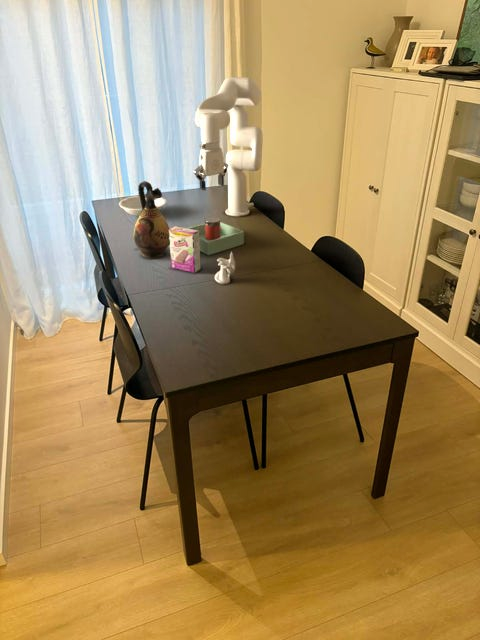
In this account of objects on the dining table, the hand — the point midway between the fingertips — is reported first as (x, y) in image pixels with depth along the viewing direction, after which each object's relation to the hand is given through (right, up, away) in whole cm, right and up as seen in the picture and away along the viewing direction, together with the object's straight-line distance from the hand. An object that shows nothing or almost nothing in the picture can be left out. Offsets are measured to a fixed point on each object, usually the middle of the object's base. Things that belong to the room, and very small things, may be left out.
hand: (212, 187), depth 208 cm
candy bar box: (-10, -36, -12) cm, 39 cm away
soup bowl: (-37, -2, +44) cm, 58 cm away
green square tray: (0, -22, +11) cm, 24 cm away
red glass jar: (0, -21, +11) cm, 24 cm away
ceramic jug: (-25, -28, +1) cm, 38 cm away
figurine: (+7, -42, -23) cm, 49 cm away
